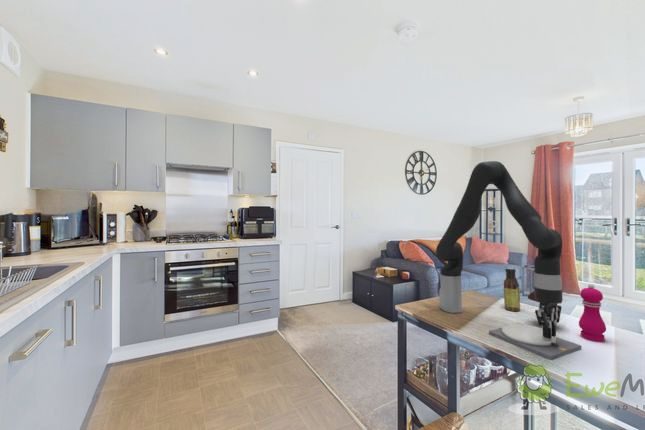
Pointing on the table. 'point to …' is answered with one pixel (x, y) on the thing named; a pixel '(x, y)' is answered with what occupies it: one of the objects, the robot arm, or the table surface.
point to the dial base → (543, 351)
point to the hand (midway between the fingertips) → (549, 336)
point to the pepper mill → (592, 315)
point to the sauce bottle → (511, 291)
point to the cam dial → (528, 335)
